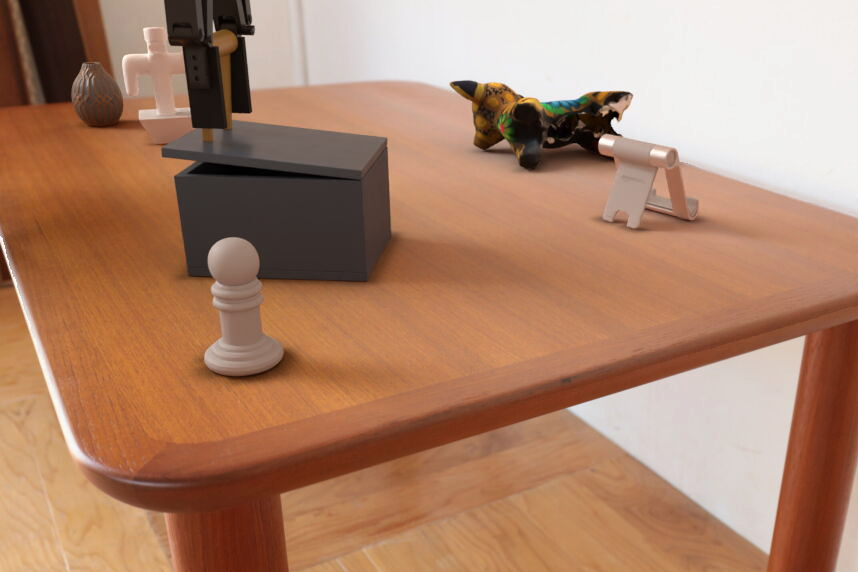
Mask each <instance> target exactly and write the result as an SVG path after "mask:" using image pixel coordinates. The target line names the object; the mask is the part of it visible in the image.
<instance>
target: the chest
mask: <svg viewBox="0 0 858 572" xmlns="http://www.w3.org/2000/svg"><path fill="white" fill-rule="evenodd" d="M389 170H390V168H389V149H388V146H386V148H385V149H384V150H383V152H382V153H381V154H380V156H379V157H378V158H377V160H376V161H375V162H374V164H373V165H372V166H371V168H370V169H369V170H368V172H367V173H366V174H365V175H364V177H363V178H362V179H361V180H357V179H348V178H339V177H331V176H322V175H313V174H304V173H296V172H287V171H278V170H270V169H261V168H252V167H244V166H235V165H226V164H218V163H209V162H200V161H194V162H193V163H191V164H190V165H188V166H187V167H185V168H184V169H182V170H180V171H179V172H177V173H176V174H174V176H173V180H174V187H175V195H176V200H177V209H178V214H179V222H180V228H181V235H182V241H183V249H184V257H185V262H186V267H187V276H188V277H208V278H209V277H211V278H213V276H212V275H211V273H210V270H209V267H208V254H209V252H210V249H211V248H212V246H213V245H214V244H215V243H217V242H218V241H220V240H222V239H225V238H230V237H236V238H241V239H244V240H246V241H248V242H250V243H251V244H252V245H253V246H254V248H255V249H256V251H257V253H258V256H259V270H258V273H257V275H256V277H257V279H274V280H275V279H278V280H280V279H281V280H282V279H284V280H313V281H315V280H316V281H345V282H346V281H347V282H348V281H349V282H368V281H369V279H370V277H371V275H372V273H373V271H374V269H375V267H376V265H377V263H378V261H379V260H380V257H381V256H382V254H383V252H384V250H385V249H386V246H387V244H388V242H389V241H390V239H391V237H392V218H391V216H392V215H391V195H390V193H391V192H390V171H389Z"/></svg>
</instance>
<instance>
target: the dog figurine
mask: <svg viewBox="0 0 858 572" xmlns="http://www.w3.org/2000/svg"><path fill="white" fill-rule="evenodd" d="M449 86H450V88H452V90H454V91H455V92H456V93H457V94H458V95H460V96H461V97H462V98H463V99H465V100H468V101H471V111H472V118H473V119H472V121H473V127H474V128H475V133H474V137H473V142H472V143H473V145H474V146H475V147H476V148H478V149H480V150H482V151H486V150H488V149H490V148H492V147H494V146H495V145H497V144H499V143H501V142H503V141H506V142H507V143H508V144H509V145H510V147H511V149H512V150H513V152H514V154H516V156H517V163H518V166H519V167H520V168H523V169H526V170H531V169H535V168H537V167H538V166H539V164H540V163H541V160H542V156H543V155H542V154H543V149H546V150H555V149H561V148H564V147H567V146H570V145H573V144H575V145H578V146H579V147H581V148H582V149H584V150H585V151H586V152H588V153H594V154H600V155H602V154H601V153H600V152H599V149H598V144H599V140H600V138H601V137H602V136H603V135H604V134H610V135H615V136H619V137H624V135H622V134H621V133H618V132H617V131H616V130H615V129H614V127H613V126H612V121H614V120H616V121H617V123H620V122H621V121H622V119H623V115H624V112H625V111H626V110H627V109H629V107H630V106H631V103H632V100H633V98H634V94H633V93H631V92H629V91H625V90H607V91H606V90H605V91H604V90H603V91H601V90H599V91H589V92H587V93H585V94H582V95H581V96H580V97H578V98H576V99H563V100H561V99H560V100H552V101H540V100H539V99H538V98H535V97H531V96H526V97H524V96H523V95H521V94H518V93H516V91H515V90H514V89H512V88H511V87H509V85H507V84H505V83H502V82H496V81H495V82H494V81H493V82H492V81H491V82H486V83H485V82H484V83H480V82H477V81H475V80H471V79H470V80H469V79H464V80H453V81H450V82H449ZM614 118H615V119H614ZM604 157H606V158H607V159H614V157H611V156H607V155H604Z"/></svg>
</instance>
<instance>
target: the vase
mask: <svg viewBox="0 0 858 572" xmlns="http://www.w3.org/2000/svg"><path fill="white" fill-rule="evenodd" d="M70 96H71V103H72V106H73V109H74V111H75V113H76V115H77V117H78V118H79V119H80V120H81V121H82V122H83V123H84V124H86V125H87V126H89V127H108V126H112V125H113V126H114V125H116V124H117V123H118V121H119V120H120V119H121V117H122V116H123V112H124V97H123V93H122V90H121V88H120V86H119V84H118V83H117V81H116V80H115V79H114V78H113V76H112V75H110V74H109V73H108V71H106V70H105V68H104V67H103V66H102V63H101V62H99V61H89V62H88V61H87V62H82V65H81V68H80V70H79V73H77V76H76V77H75V79H74V81H73V83H72V87H71V95H70Z"/></svg>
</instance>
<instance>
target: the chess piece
mask: <svg viewBox="0 0 858 572" xmlns="http://www.w3.org/2000/svg"><path fill="white" fill-rule="evenodd" d="M208 267H209V270H210V273H211V275H212V276H213V277H212V278H213V279H214V281H215V282H214V283H212V285H211V286H210V292H211V294H212V296H213V297H212V305H213V307H214V308H215V309H216V310H218V314H219V315H218V316H219V323H220V329H221V330H220V331H221V337H219V338H218V339H217V340H216V341H215V342H214V343H212V344H211V345H210V346H209V347H208V348H207V349H206V350H205V351H204V354H203V355H204V356H203V362H204V364H205V365H206V367H207V368H208V369H209V370H210V371H212V372H214V373H216V374H218V375H222V376H227V377H245V376H246V377H247V376H251V375H252V376H253V375H257V374H260V373H263V372H266V371H268V370H271V369H273V368H274V367H276V365H278V364H279V363H280V362H281V361H282V359H283V358H284V351H285V350H284V348H283V345H282V343H281V342H280V341H279V340H277V339H276V338H275V337H272V336H270V335H268V334H266V333H264V332H263V326H262V317H261V316H262V315H261V305H262V304H263V302H264V299H265V297H264V295H263V294H264V293H262V292H261V291H262V290H263V283H262V281H261V280H259V278H257V277H256V275H257V273H258V270H259V256H258V253H257V251H256V249H255V248H254V246H253V245H252V244H251V243H250V242H248V241H246V240H244V239H241V238H236V237H230V238H225V239H222V240H220V241H218V242H217V243H215V244H214V245H213V246H212V248H211V249H210V252H209V254H208Z"/></svg>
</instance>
